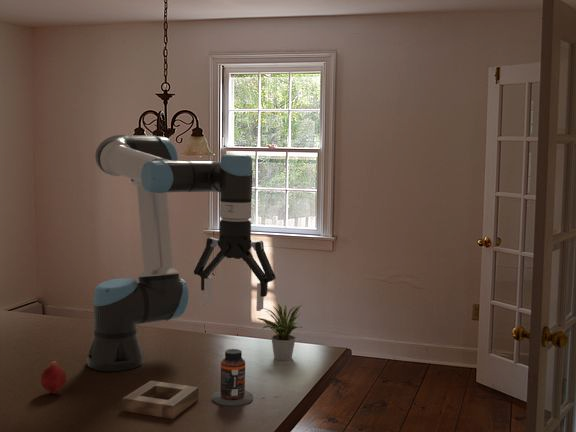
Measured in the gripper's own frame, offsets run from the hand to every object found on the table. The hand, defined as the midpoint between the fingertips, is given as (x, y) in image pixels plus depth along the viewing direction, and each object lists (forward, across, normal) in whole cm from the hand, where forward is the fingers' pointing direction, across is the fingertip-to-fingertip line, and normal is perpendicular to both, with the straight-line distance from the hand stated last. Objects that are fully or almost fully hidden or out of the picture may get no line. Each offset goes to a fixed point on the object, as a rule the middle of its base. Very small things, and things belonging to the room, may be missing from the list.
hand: (233, 306), depth 164 cm
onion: (+23, -42, -13) cm, 50 cm away
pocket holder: (+23, -14, -10) cm, 28 cm away
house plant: (+23, +1, +37) cm, 43 cm away
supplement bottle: (+22, 0, 0) cm, 22 cm away
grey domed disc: (+23, 0, 0) cm, 23 cm away
